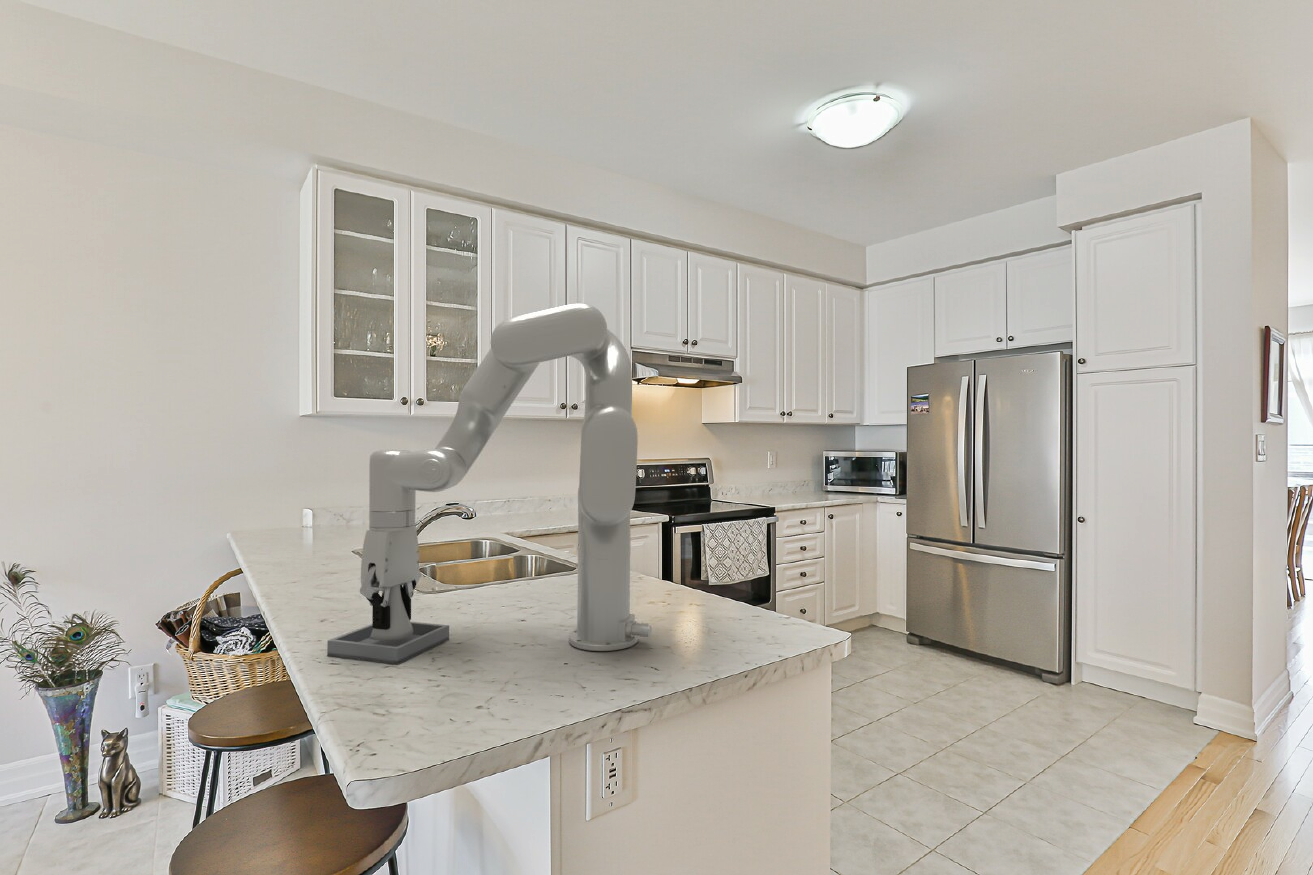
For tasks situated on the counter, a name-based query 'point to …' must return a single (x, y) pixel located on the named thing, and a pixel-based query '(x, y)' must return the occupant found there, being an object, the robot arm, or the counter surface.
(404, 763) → the counter surface
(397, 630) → the flask
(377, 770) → the counter surface
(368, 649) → the tray
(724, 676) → the counter surface
